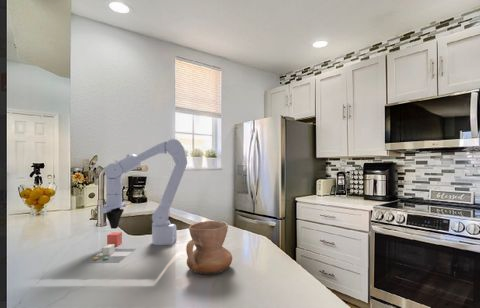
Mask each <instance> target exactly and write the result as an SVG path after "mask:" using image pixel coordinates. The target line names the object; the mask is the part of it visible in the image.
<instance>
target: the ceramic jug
mask: <svg viewBox="0 0 480 308" xmlns="http://www.w3.org/2000/svg"><path fill="white" fill-rule="evenodd" d="M228 225H229V224H228V223H227V222H226V221H220V220H205V221H199V222H196V223H193V224H190V225H189V227H188V230H189V234H190V237H191V239H190V240H189V241H188V242H187V243H186V247H185V250H186V256H187V259H186V265H187V268H188V269H189V270H191V272H194V273H196V274H202V275H213V274H218V273H221V272H223V271H225V270H227V269H228V268H229V267H230V266H231V264H232V261H233V254H232V252H230V250H229V249H226V248H225V247H224V246H223V245H224V243H225V241H226V238H227V237H226V236H227V234H228V229H229V227H228ZM194 246H195V249H194Z"/></svg>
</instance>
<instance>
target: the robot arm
mask: <svg viewBox="0 0 480 308" xmlns="http://www.w3.org/2000/svg"><path fill="white" fill-rule="evenodd" d="M167 153H168V154H169V155H170V156H171V157H172V160H173V161H174V163H175V164H174V167H173V170H172V172H171V175H170V177H169V179H168V182H167V184H166V186H165V190H164V192H163V195H162V198H161V199H160V202H159V204H158V206H157V207H156V209H155V210H154V212H153V213H152V215H151V220H152V223H151V228H152V229H151V238H152V239H151V243H152V245H153V246H164V245H166V246H167V245H171V246H173V245H174V244H175V243H176V242H177V241H178V239H177V236H178V235H177V233H178V232H177V225H176V224H175V223H171V221H170V220H169V217H170V213H171V212H170V209H171V206H172V203H173V201H174V198H175V197H176V196H175V195H176V193H177V191H178V188H179V186H180V183H181V180H182V178H183V176H184V173H185V170H186V168H187V166H188V159H187V155H186V152H185V148H184V146H183V144H182V143H181V142H180V140H178V139H176V138H171V139H169V140H167V141H163V142H160V143H158V144H156V145H153V146H152V147H150V148H148V149H146V150H145V151H142V152H140V153H139V154H134V153H132V154H130V153H128V154H126V156H125V157H123V158H121V159H120V160H118V159H117V160H115V162H113V163H109V164H108V165H107V166H106V167H105V168H104V171H103V172H104V175H105V176H106V182H105V186H106V187H105V189H106V190H105V193H106V194H105V195H106V196H105V197H106V198H105V204H104V205H103V206H102V207H101V208H100V214H104V215H105V216H106V218H107V220H108V223H109V226H110V229H115V230H116V229H118V227H119V224H120V221H121V217H122V214H123V213H124V208H126V207H127V202H126V201H123V181H122V176H123V175H124V174H126V173H129V172H131V171H133V170H135V169H137V168H139V167H140V166H141V163H142V162H143V161H146V160H148V159H150V158H151V159H152V157H155V156H157V155H161V154H164V155H165V154H166V155H167Z"/></svg>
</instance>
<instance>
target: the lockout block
mask: <svg viewBox="0 0 480 308" xmlns="http://www.w3.org/2000/svg"><path fill="white" fill-rule="evenodd" d="M108 244H115V247H119V246H120V245H122V244H123V232H120V231H118V232H117V231H113V232H111V233H108V234H107V235H106V245H108Z"/></svg>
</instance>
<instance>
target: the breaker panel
mask: <svg viewBox="0 0 480 308" xmlns="http://www.w3.org/2000/svg"><path fill="white" fill-rule="evenodd" d="M136 250H137V248H115V252H113V253H112V254H111V255H103V250H102V251H99V253H96V254H95V255H93V256H91V257H90V258H89V259H87V260H85V261H84V262H82V263H83V264H107V263H108V264H110V263H111V264H113V263H114V264H118V263H120V262H121V261H123V260H124V259H126V257H128V256H129V255H131V254H132V253H133V252H135V251H136Z"/></svg>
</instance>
